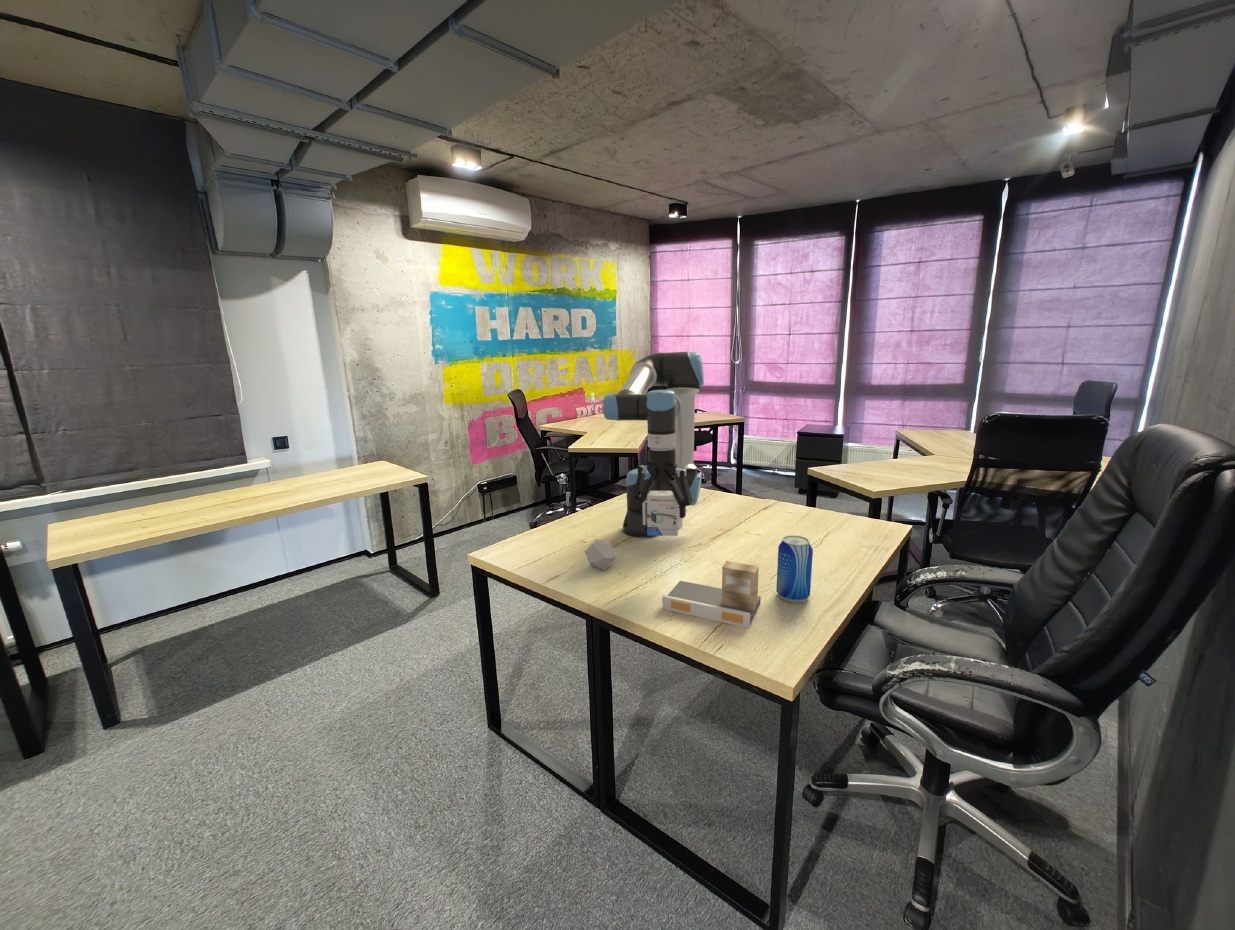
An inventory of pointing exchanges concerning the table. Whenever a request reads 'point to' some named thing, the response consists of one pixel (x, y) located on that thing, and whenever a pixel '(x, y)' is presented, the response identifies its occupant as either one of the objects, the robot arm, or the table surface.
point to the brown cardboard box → (740, 585)
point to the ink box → (661, 513)
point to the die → (600, 554)
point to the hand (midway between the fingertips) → (662, 525)
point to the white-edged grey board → (706, 604)
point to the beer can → (794, 569)
